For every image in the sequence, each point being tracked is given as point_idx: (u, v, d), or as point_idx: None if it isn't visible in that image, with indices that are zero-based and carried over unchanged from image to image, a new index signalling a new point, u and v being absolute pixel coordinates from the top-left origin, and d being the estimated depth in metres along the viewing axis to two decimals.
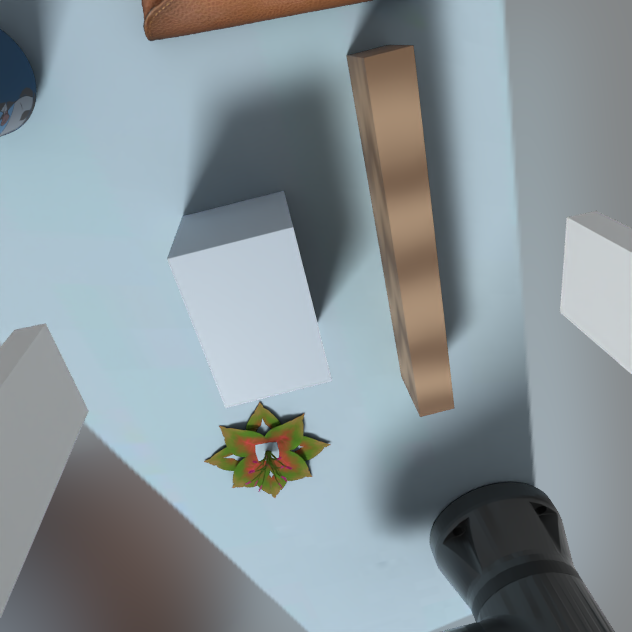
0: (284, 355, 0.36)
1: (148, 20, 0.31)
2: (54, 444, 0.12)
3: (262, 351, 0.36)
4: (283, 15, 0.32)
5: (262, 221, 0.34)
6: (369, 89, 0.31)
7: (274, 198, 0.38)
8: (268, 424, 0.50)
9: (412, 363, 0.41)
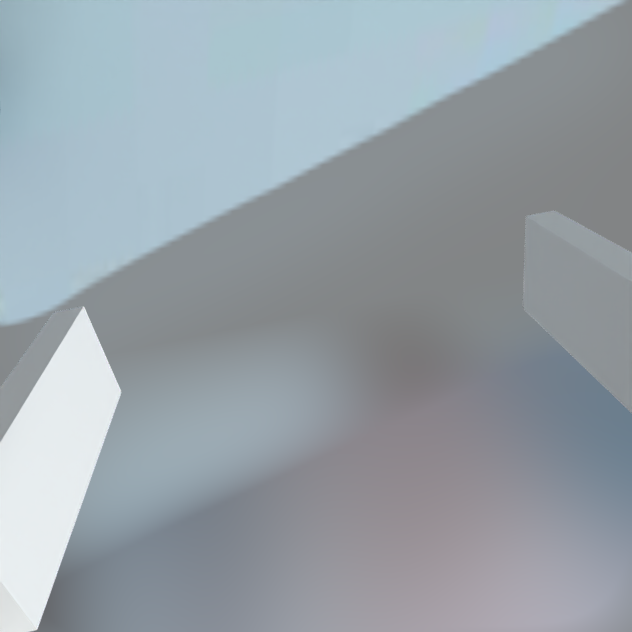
0: None
1: None
2: (94, 421, 0.12)
3: None
4: None
5: None
6: None
7: None
8: None
9: None
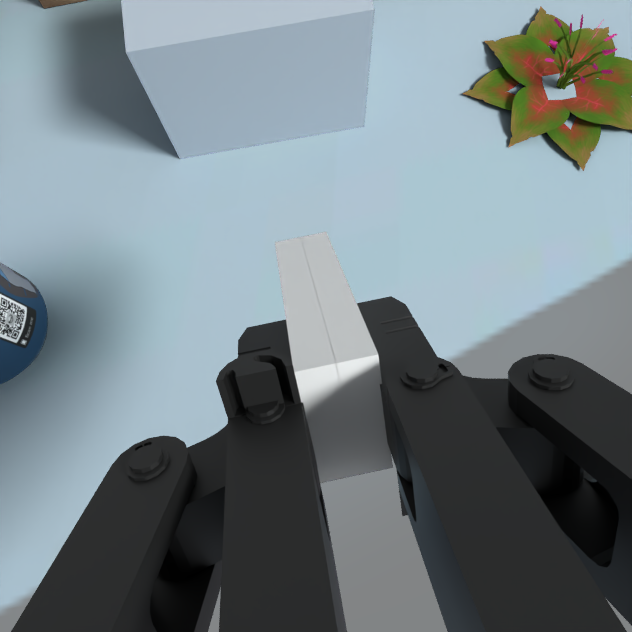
0: None
1: None
2: None
3: None
4: None
5: None
6: None
7: None
8: (505, 84, 0.33)
9: None
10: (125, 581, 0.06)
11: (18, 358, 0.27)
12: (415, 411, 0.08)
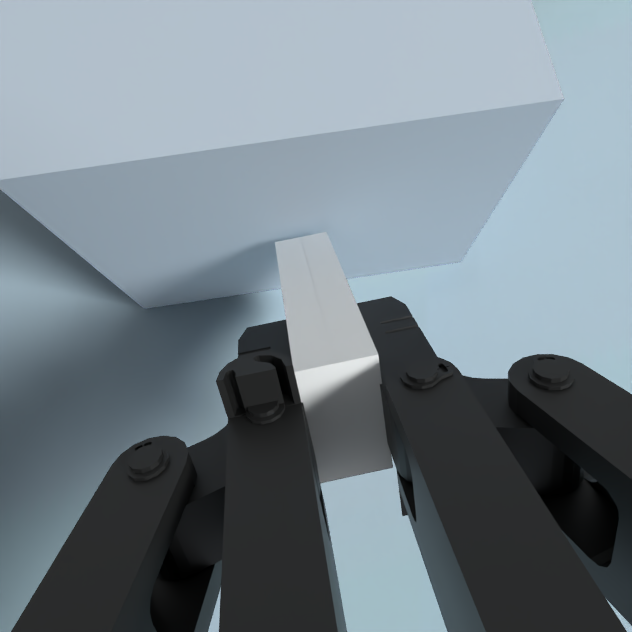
0: None
1: None
2: None
3: None
4: None
5: None
6: None
7: None
8: None
9: None
10: (125, 581, 0.06)
11: None
12: (415, 411, 0.08)
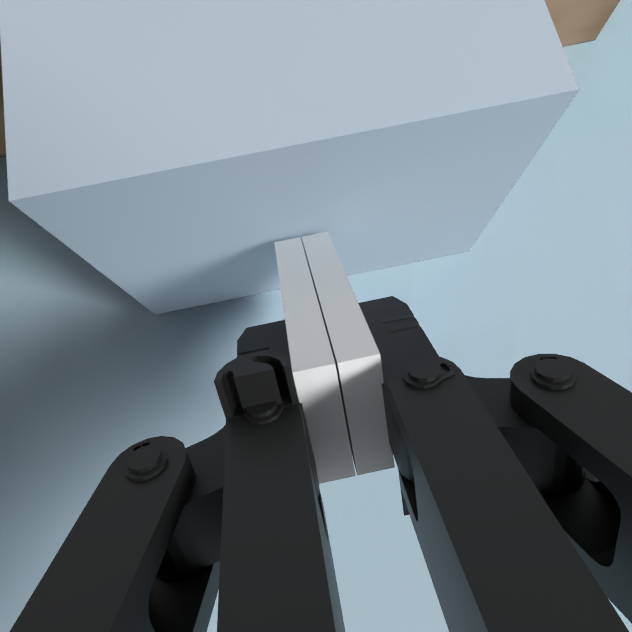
0: None
1: None
2: None
3: None
4: None
5: None
6: None
7: None
8: None
9: None
10: (123, 581, 0.06)
11: None
12: (417, 411, 0.08)
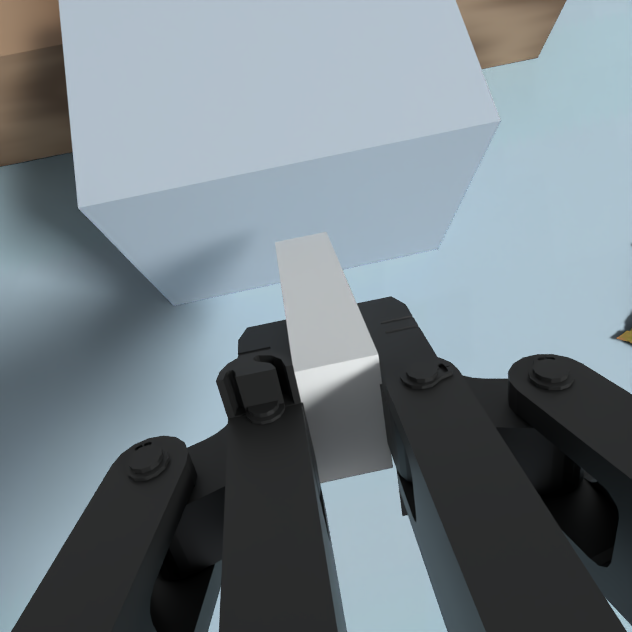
0: (350, 0, 0.16)
1: None
2: None
3: (336, 40, 0.15)
4: None
5: None
6: None
7: None
8: None
9: None
10: (125, 581, 0.06)
11: None
12: (415, 411, 0.08)
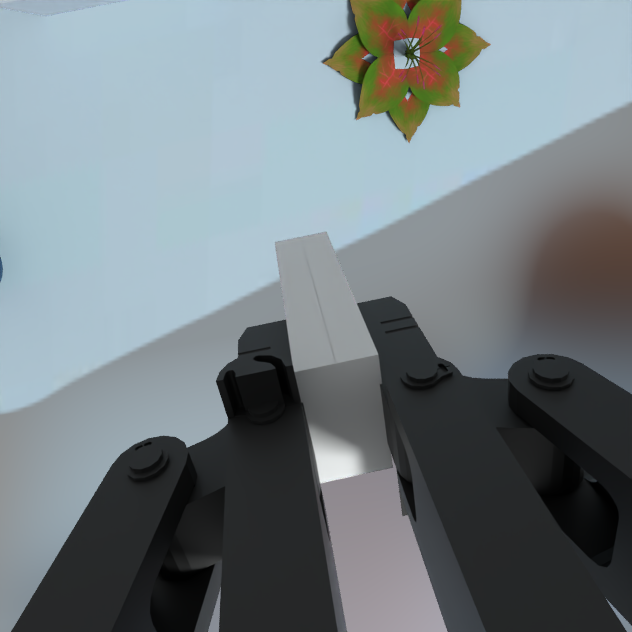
0: None
1: None
2: None
3: None
4: None
5: None
6: None
7: None
8: (361, 51, 0.37)
9: None
10: (125, 581, 0.06)
11: None
12: (415, 411, 0.08)
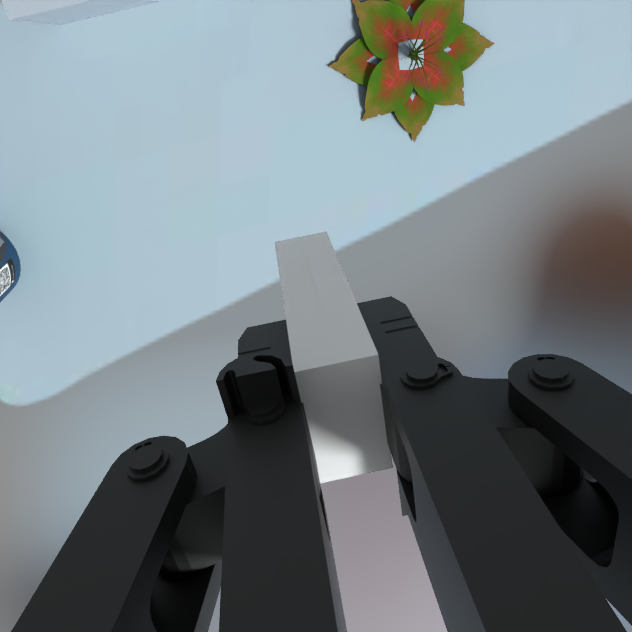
0: None
1: None
2: None
3: None
4: None
5: None
6: None
7: None
8: (365, 53, 0.38)
9: None
10: (125, 581, 0.06)
11: (11, 288, 0.41)
12: (415, 411, 0.08)
